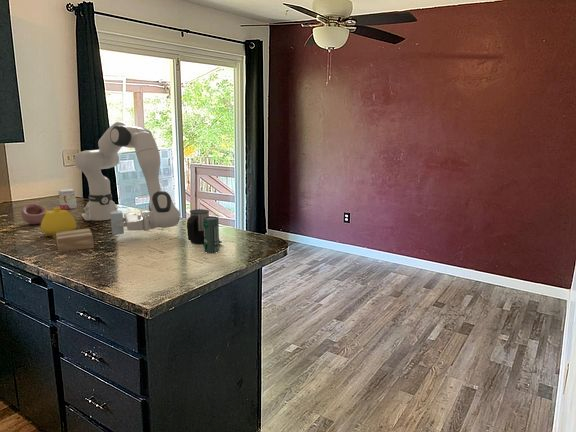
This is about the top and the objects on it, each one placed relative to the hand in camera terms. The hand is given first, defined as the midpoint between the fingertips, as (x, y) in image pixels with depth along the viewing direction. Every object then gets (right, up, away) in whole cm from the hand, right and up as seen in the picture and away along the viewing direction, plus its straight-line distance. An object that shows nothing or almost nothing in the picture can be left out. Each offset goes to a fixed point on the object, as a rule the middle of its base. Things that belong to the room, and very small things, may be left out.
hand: (115, 222), depth 205 cm
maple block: (-15, -11, -8) cm, 20 cm away
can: (+48, -13, -14) cm, 52 cm away
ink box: (-57, +8, +70) cm, 91 cm away
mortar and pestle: (-55, -1, +30) cm, 63 cm away
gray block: (+1, -5, +2) cm, 5 cm away
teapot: (-33, -6, +11) cm, 35 cm away
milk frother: (+43, -10, -2) cm, 44 cm away
